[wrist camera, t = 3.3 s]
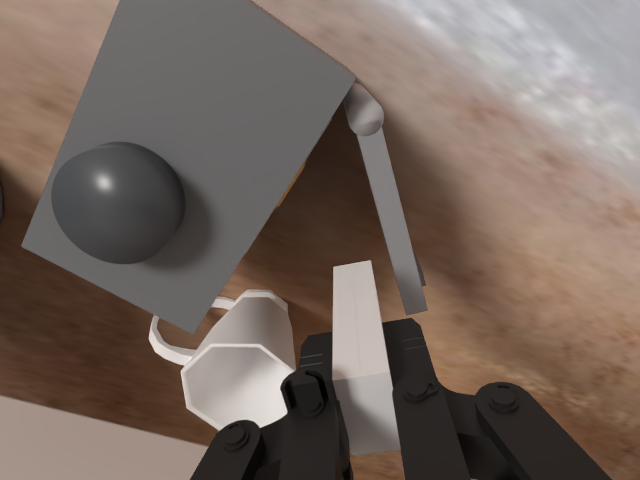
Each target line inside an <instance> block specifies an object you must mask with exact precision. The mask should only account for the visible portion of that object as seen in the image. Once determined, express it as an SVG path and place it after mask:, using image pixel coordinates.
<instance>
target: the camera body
mask: <svg viewBox="0 0 640 480" xmlns="http://www.w3.org/2000/svg"><path fill="white" fill-rule="evenodd" d="M355 80H356V77H355V76H354V75H353V74H352V73H351V72H350V71H349V70H348V69H347V68H346V67H345V66H344V65H342V64H341V63H340V62H338V61H337V60H335V59H334V58H332V57H331V56H330V55H328V54H327V53H325V52H324V51H322V50H321V49H320V48H318V47H317V46H315V45H314V44H312V43H311V42H310V41H308V40H307V39H305V38H304V37H302V36H301V35H300V34H298V33H297V32H295V31H294V30H292V29H291V28H290V27H288V26H287V25H285V24H284V23H282V22H281V21H280V20H278V19H277V18H275V17H274V16H272V15H271V14H270V13H268V12H267V11H265V10H264V9H263V8H261V7H260V6H258V5H257V4H255V3H254V2H253V1H251V0H120V1H119V3H118V6H117V8H116V11H115V13H114V16H113V18H112V21H111V23H110V26H109V28H108V31H107V33H106V36H105V38H104V41H103V43H102V46H101V48H100V51H99V53H98V56H97V58H96V61H95V63H94V66H93V68H92V71H91V73H90V76H89V78H88V81H87V83H86V86H85V88H84V91H83V93H82V96H81V98H80V101H79V103H78V106H77V108H76V110H75V113H74V115H73V118H72V120H71V123H70V125H69V128H68V130H67V133H66V135H65V138H64V140H63V143H62V145H61V148H60V150H59V153H58V155H57V158H56V160H55V163H54V165H53V168H52V170H51V173H50V175H49V178H48V180H47V183H46V185H45V188H44V190H43V193H42V195H41V198H40V200H39V203H38V205H37V208H36V210H35V213H34V215H33V217H32V220H31V222H30V225H29V227H28V230H27V232H26V235H25V237H24V240H23V242H22V245H21V247H23V248H25V249H27V250H29V251H31V252H33V253H35V254H37V255H39V256H40V257H42V258H44V259H46V260H48V261H50V262H52V263H54V264H56V265H58V266H60V267H62V268H64V269H66V270H68V271H70V272H72V273H74V274H76V275H77V276H79V277H81V278H83V279H85V280H87V281H89V282H91V283H93V284H95V285H97V286H99V287H101V288H103V289H105V290H107V291H109V292H111V293H113V294H115V295H116V296H118V297H120V298H122V299H124V300H126V301H128V302H130V303H132V304H134V305H136V306H138V307H140V308H142V309H144V310H146V311H148V312H150V313H152V314H153V315H155V316H157V317H159V318H161V319H163V320H165V321H167V322H169V323H171V324H173V325H175V326H177V327H179V328H181V329H183V330H185V331H187V332H189V333H191V334H192V335H193V334H194V333H195V331H196V330H197V328H198V326H199V325H200V323H201V322H202V320H203V319H204V317H205V315H206V314H207V312H208V311H209V309H210V308H211V306H212V304H213V303H214V301H215V300H216V298H217V297H218V295H219V293H220V292H221V290H222V289H223V287H224V286H225V284H226V282H227V281H228V279H229V278H230V276H231V275H232V273H233V271H234V270H235V268H236V267H237V265H238V264H239V262H240V260H241V259H242V257H243V256H244V254H246V253H247V252H248V250H249V248H250V247H251V245H252V244H253V242H254V241H255V239H256V237H257V236H258V234H259V233H260V231H261V230H262V228H263V226H264V225H265V223H266V222H267V220H268V219H269V217H270V215H271V214H272V212H273V211H274V209H275V208H276V206H277V207H279V206H280V204H281V203H282V201H283V200H284V198H285V196H286V195H287V193H288V192H289V190H290V189H291V187H292V186H293V184H294V182H295V181H296V179H297V178H298V176H299V175H300V173H301V172H302V170H303V168H304V167H305V165H306V161H307V158H308V156H309V154H310V153H311V151H312V150H313V148H314V147H315V145H316V143H317V142H318V140H319V139H320V137H321V136H322V134H323V132H324V131H325V129H326V128H327V126H328V125H329V123H330V121H331V117H332V116H333V114H334V113H335V111H336V110H337V108H338V106H339V105H340V103H341V102H342V100H343V99H344V97H345V95H346V94H347V92H348V91H349V89H350V88H351V86H352V84H353V83H354V81H355Z"/></svg>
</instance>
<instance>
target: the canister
mask: <svg viewBox="0 0 640 480" xmlns="http://www.w3.org/2000/svg"><path fill="white" fill-rule="evenodd" d="M2 215H3V198H2V188H1V185H0V220H1V218H2Z"/></svg>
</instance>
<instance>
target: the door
mask: <svg viewBox="0 0 640 480" xmlns="http://www.w3.org/2000/svg"><path fill="white" fill-rule="evenodd" d="M343 104H344V108H345V112H346V116H347V120H348V124H349V126H350V128H351V130H352V131H353V132H354V133H355V134H356V137H357V141H358V144H359V148H360V152H361V155H362V159H363V163H364V166H365V170H366V174H367V177H368V181H369V184H370V188H371V192H372V195H373V199H374V203H375V206H376V210H377V214H378V217H379V221H380V224H381V228H382V232H383V235H384V239H385V242H386V246H387V249H388V253H389V256H390V260H391V263H392V267H393V270H394V274H395V277H396V281H397V284H398V288H399V291H400V295H401V298H402V302H403V305H404V309H405V312H406V316H407V315H411V314H415V313H419V312H423V311H427V310H428V309H427V305H426V301H425V297H424V293H423V289H422V286H426V284H425V280H424V276H423V272H422V269H421V267H420V264H419V262H418V260H417V257H416V255H415V252H414V250H413V248H412V245H411V242H410V238H409V234H408V230H407V226H406V222H405V218H404V214H403V210H402V206H401V202H400V198H399V194H398V190H397V186H396V182H395V178H394V174H393V170H392V166H391V162H390V158H389V154H388V150H387V146H386V142H385V138H384V134H383V130H382V125H383V122H384V112H383V109H382V107H381V106H380V105H379V104H378V102H377V101H376V100H375V99H374V98H373V97H372V96H371V95H370V94H369V92H368V91H367V90H366V89H365V88H364V87H363V86H362V85H361V84H359V83H353V84H352V86H351V88H350V89H349V91H348V92H347V94H346V95H345V97H344V99H343Z"/></svg>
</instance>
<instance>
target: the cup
mask: <svg viewBox="0 0 640 480" xmlns="http://www.w3.org/2000/svg"><path fill="white" fill-rule="evenodd" d="M211 307H217V308H225V309H227V310H229V311H228V312H227V313H226V314H225V315H224V316H223V317H222V318H221V319H220V320H219V321H218V322H217V323H216V324H215V325H214V326H213V327H212V329H211V330H210V332H209V333H208V334H207V336H206V337H205V339H204V340H203V341H202V343H201V344H200V346H199V347H198V348H197V350H192V349H185V348H180V347H176V346H171V345H169V344H167V343H166V342H165V341H163V339H162V337H161V335H160V334H159V332H158V330H157V323H158V320H159V317H157V316H155V315H154V316H153V319H152V323H151V326H150V333H149V341H150V343H151V345H152V347H153V349H154V351H155V352H156V353H157V354H159V355H160V356H161V357H163V358H164V359H167V360H169V361H172V362H174V363H177V364H180V365H184V367H183V369H182V370H181V377H182V383H183V389H184V395H185V401H186V407H187V409H188V410H190V411H191V412H193V413H194V414H196V415H197V416H199V417H200V418H201V419H203V420H204V421H206V422H207V423H209V424H210V425H212V426H213V427H214V428H216V429H217V430H219V431H220V430H221V429H223V428H224V427H225V426H227V425H228V424H230V423H233V422H235V421H238V420H250V421H254V422H255V423H256V424H257V425H258V426H259V428H261V427H263V426H266V425H268V424H271V423H273V422H275V421H277V420H279V419H281V418H282V417H283V416H285V415H286V414H287V408H286V405H285V402H284V399H283V396H282V393H281V390H280V386H281V384H282V381H283V380H284V379H285V378H286V377H287V376H288V375H289V374H291V373H292V372H294V371H296V363H295V354H294V346H293V335H292V326H291V323H290V320H289V316H288V304H287V303H286V302H285V301H284V300H282V299H281V298H280V297H279V296H278V295H276V294H275V293H274V292H273V291H272V290H246V291H245V292H244V293H243V294H242V295H241V296H240V297H239V298H238V299H237V300H233V299H230V298H227V297H217V298H216V300H215V301H214V303H213V304H212V306H211Z"/></svg>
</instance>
